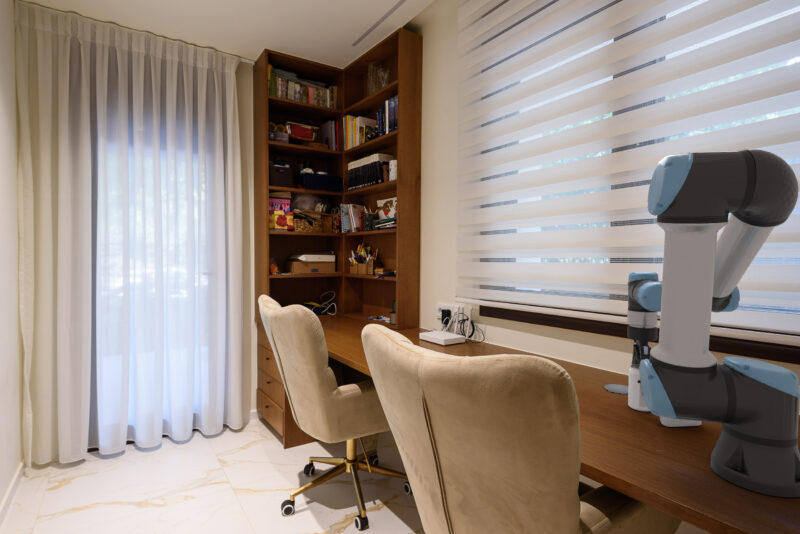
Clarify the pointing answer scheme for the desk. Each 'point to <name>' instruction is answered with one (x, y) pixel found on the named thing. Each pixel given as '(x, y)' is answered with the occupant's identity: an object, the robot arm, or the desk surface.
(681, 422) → the photo printer
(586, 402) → the desk surface
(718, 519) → the desk surface
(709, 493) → the desk surface
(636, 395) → the can
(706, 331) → the robot arm
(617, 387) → the felt coaster
